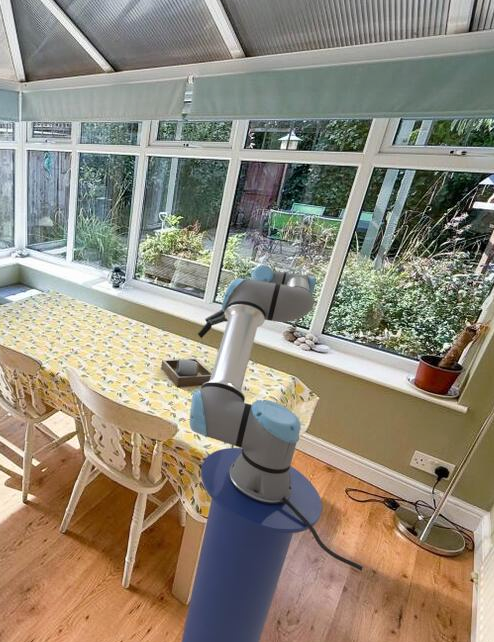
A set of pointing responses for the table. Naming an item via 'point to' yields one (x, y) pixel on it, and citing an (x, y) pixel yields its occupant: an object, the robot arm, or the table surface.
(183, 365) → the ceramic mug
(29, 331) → the table surface
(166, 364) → the walnut holder
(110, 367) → the table surface
